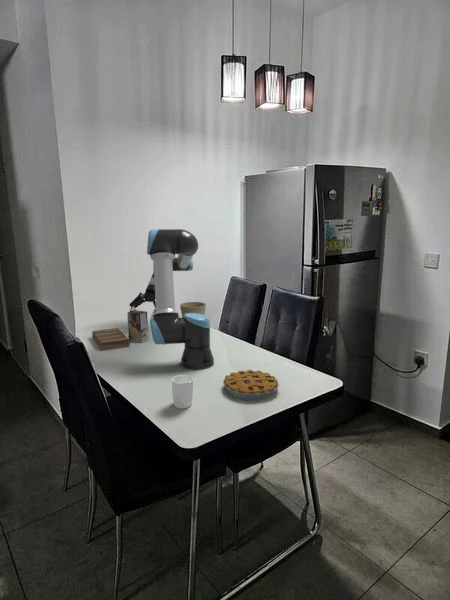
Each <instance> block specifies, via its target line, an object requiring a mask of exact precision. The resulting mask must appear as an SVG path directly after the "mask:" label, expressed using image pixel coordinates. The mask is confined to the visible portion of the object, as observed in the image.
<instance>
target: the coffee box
mask: <svg viewBox="0 0 450 600" xmlns="http://www.w3.org/2000/svg"><path fill="white" fill-rule="evenodd" d="M126 314H127V327H128V339H129V342H135V343H139V344H140V343H141V344H142V343H145V342H147V341H149V328H148V327H149V326H148V325H149V323H148V311H145V310H137V309H136V310H133V311H130V310H129V311H127V313H126Z"/></svg>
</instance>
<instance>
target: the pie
mask: <svg viewBox="0 0 450 600" xmlns="http://www.w3.org/2000/svg"><path fill="white" fill-rule="evenodd" d="M222 382H223V386H224V387H225V388H226V390H227V392H228V393H229V394H230V395H231V396H232V397H235V398H236V399H239V400H243V401H244V400H246V401H256V400H259V399H260V400H263V398H264V399H267V398H266V397H268V398H270V397H271V395H272V396H274V394H275V392H276V390H278V388H279V386H280V384H279V382H278V379H276V377H275V376H274V375H271V374H270V373H268V372H263V371H262V370H256V371H255V370H252V369H247V371H246V370H245V371H244V370H237V372H230V373H229V374H228V375H225V377H224V379H223V381H222ZM269 396H270V397H269Z"/></svg>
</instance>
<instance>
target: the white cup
mask: <svg viewBox="0 0 450 600" xmlns="http://www.w3.org/2000/svg"><path fill="white" fill-rule="evenodd" d="M171 391H172V393H171V394H172V400H173V402H172V403H173V407H175V408H177V409H180V410H181V409H183V410H184V409H188V408H190V407H191V406H192V405H193V394H194V377H193V376H191V375H189V374H178V375H174V376H173V377H172V378H171Z"/></svg>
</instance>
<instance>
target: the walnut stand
mask: <svg viewBox="0 0 450 600" xmlns="http://www.w3.org/2000/svg"><path fill="white" fill-rule="evenodd" d="M91 333H92V335H91V336H92V339H93V341H94V342H95V343H96V345H97V346H98V347H99V349H100V350H101V351H102V352H103V351H109V350H116V349H123V348H129V347H130V341H129V337H128V336H127V335H126V334H124V333H123V331H122V330H120V329H119V328H118V327H113V328H105V329H97V330H92V332H91Z"/></svg>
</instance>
